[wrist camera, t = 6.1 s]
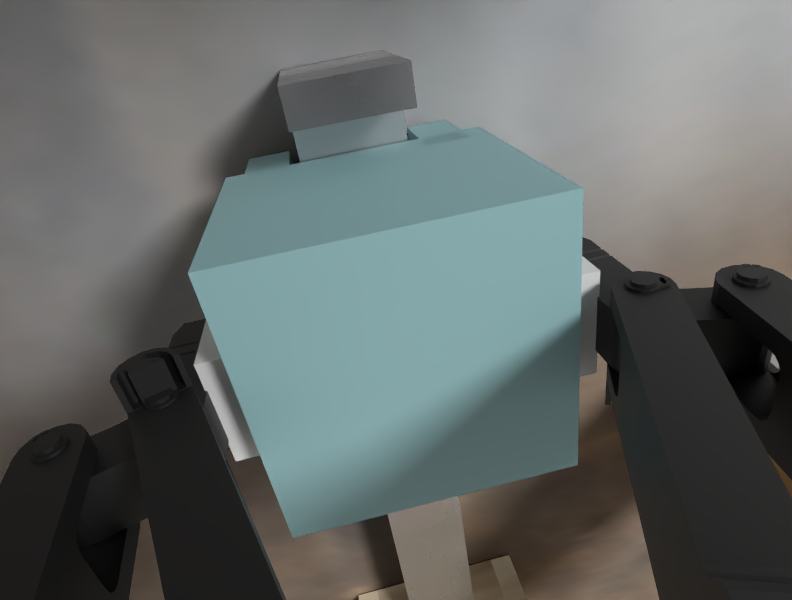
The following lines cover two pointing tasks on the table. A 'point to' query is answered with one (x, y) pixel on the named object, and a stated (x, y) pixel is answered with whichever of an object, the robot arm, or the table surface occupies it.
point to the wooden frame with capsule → (472, 583)
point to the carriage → (398, 320)
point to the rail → (349, 132)
